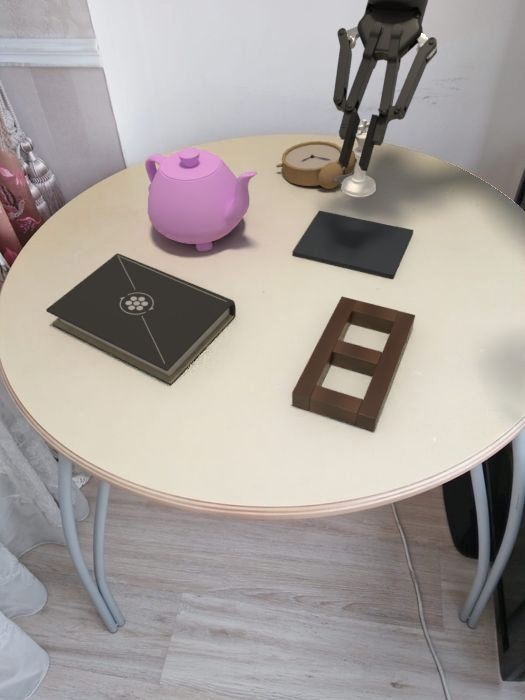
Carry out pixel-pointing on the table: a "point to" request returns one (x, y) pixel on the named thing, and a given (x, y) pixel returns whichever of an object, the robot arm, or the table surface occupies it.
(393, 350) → the holder
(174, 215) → the teapot
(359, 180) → the chess piece
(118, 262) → the book
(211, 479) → the table surface
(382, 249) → the mat
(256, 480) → the table surface
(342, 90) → the robot arm
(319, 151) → the alarm clock
